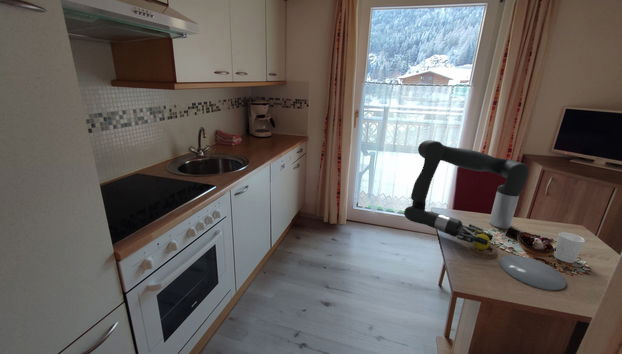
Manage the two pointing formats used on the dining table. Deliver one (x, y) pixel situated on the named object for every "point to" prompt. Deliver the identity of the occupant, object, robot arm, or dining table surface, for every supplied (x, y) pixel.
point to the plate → (533, 272)
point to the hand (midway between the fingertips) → (489, 240)
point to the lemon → (482, 246)
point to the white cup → (568, 247)
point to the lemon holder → (485, 254)
